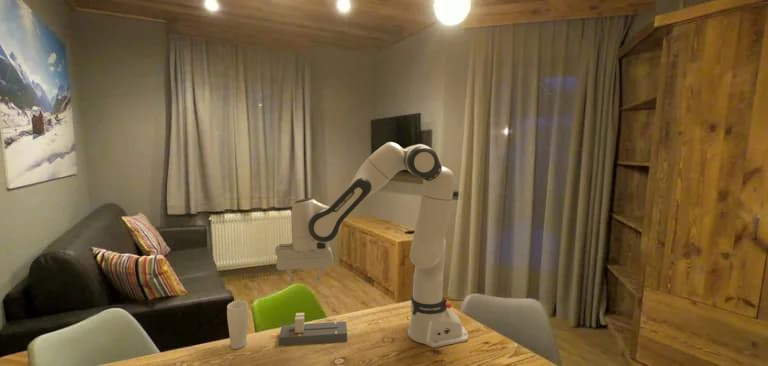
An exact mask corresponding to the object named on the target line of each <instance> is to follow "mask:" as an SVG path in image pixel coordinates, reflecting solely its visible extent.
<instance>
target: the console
mask: <svg viewBox="0 0 768 366" xmlns="http://www.w3.org/2000/svg"><path fill="white" fill-rule="evenodd" d="M340 342H342V343H343V342H348V328H347V321H331V322H315V323H304V332H299V333H295V324H282V325H281V328H280V331H279V335H278V346H279V347H281V346H296V345H309V344H310V345H313V344H323V343H324V344H325V343H340Z"/></svg>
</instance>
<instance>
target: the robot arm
mask: <svg viewBox="0 0 768 366" xmlns="http://www.w3.org/2000/svg"><path fill="white" fill-rule="evenodd" d="M404 170H405V171H408V172H409V173H410V174H412V175H413V176H416V177H418V178H419V179H422V183H423V185H422V187H423V188H422V192H421V199H420V204H419V205H420V206H419V211H418V217H417V221H416V224H415V228H414V233H413V237H412V241H411V245H410V249H409V259H410V261H411V263H412V264H413V265H414V271H413V272H414V273H413V277H412V296H411V301H410V311H411V316H410V321H409V322H410V323H409V327H408V330H407V336H408V337H409V338H410V339H411V340H413V341H414V342H417V343H420V344H424V345H426V346H428V347H430V348H439V347H443V346H448V345H452V344H453V345H454V344H457V343H458V344H459V343H464V342H467V341H468V340H469V334H468V331H467V330H466V328H465V327H464V326H463V325H462V321H461V319H460V317H459V316H458V314H457V313H455V312H454V311H453V310H452V309H451V308H452V304H451V302H450V301H449V300H447V299H446V298H445V297H443V296H444V295H443V289H444V288H443V287H444V271H445V265H446V264H445V263H446V250H447V241H446V235H447V234H446V233H447V229H448V224H449V221H450V217H451V215H450V214H451V209H452V203H453V197H454V185H455V184H454V182H455V181H454V173H453V171H452V170H451V169H449V168H448V167H446V166H443V165H441V161H440V159H439V157H438V153H437V152H436V150H434V149H433V148H432V147H430V146H428V145H427V144H426V145H425V144H422V143H418V144H413V145H412V144H411V145H409V146H406V147H402V146H400V144H398V143H396V142H393V141H388V142H385V144H383V145H382V146H380V147H379V148H378V149H376V150H375V151H374V152H372V154H371V155H369V156H368V158H366V159H365V161H364V162H363V163H362V164H361V165H360V167H359V168H358V170H357V171H356V173H355V175H354V176H353V178H352V180H351V182H350V184H349V185H348V187H347V188H346V189H345V191H344V192H343V193H342V194H341V195H340V196H339V197H338V198H337V199H336V200H335V201H334V202H333V203H332V204H331V206H328V205H325V204H323V203H321V202H319V201H317V200H316V199H315V198H312V197H307V198H302V199H298V200H296V201H295V202H293V204H292V209H291V226H292V233H291V243H284V244H283V243H280V244H279V245H277V246H276V247H275V252H274V253H275V255H276V269H277V270H278V271H286V274H287V276H288V277H289V278H290V279H289V281H290V282H295V280H296V279H295V276H296V275H295V274H292V271H293V270H307V269H319V273H316V280H317V281H319V280H321V279H322V275H323V273H324V269H326V268H332V267H333V266H334V257H333V252H332V248H331V246H330V242H331V241H333V239H334V238H336V237H337V235H338V232H339V230H340V228H341V227H342V225H343V222H344V221H345V219H346V218H347V217H348V216H349V215H350V214H351V213H352V212H353V211H354V209H356V207H358V206H359V205H360V203H362V202H363V201H365V200H366V199H367V198H369V197H371V196H372V195H373V194H375V193H376V192H378V191H379V190H381V189H382V188H383V187H384V186H386V184H388V183H389V181H390V180H392V179H393V178H394V176H395V175H396V174H397V173H400V172H401V171H404Z"/></svg>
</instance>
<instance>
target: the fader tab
mask: <svg viewBox="0 0 768 366" xmlns="http://www.w3.org/2000/svg"><path fill="white" fill-rule="evenodd" d="M304 324H305V312H296V313H295V317H294V325H295V333H299V332H304Z"/></svg>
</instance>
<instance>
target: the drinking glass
mask: <svg viewBox="0 0 768 366" xmlns="http://www.w3.org/2000/svg"><path fill="white" fill-rule="evenodd" d="M226 316H227V317H226V318H227V319H226V320H227V327H228V333H229V345H230V348H231V349H234V350H240V349H242V348H244V347H246V345H247V341H248V339H247V337H248V321H249V303H248V301H245V300H235V301H232V302H229V303H228V304H227V306H226Z"/></svg>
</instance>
